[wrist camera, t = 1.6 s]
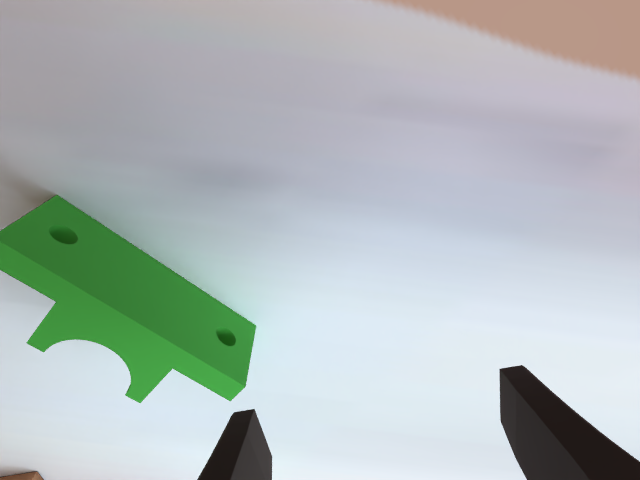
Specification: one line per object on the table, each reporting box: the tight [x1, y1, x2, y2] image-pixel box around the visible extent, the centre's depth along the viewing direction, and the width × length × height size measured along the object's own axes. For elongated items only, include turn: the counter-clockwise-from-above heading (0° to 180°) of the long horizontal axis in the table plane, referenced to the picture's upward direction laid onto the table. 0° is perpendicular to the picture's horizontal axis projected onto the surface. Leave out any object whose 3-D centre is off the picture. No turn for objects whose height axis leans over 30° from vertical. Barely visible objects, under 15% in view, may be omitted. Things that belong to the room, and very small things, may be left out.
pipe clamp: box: [0, 195, 256, 403], centre depth 19 cm, size 11×4×5 cm, turn 49°
